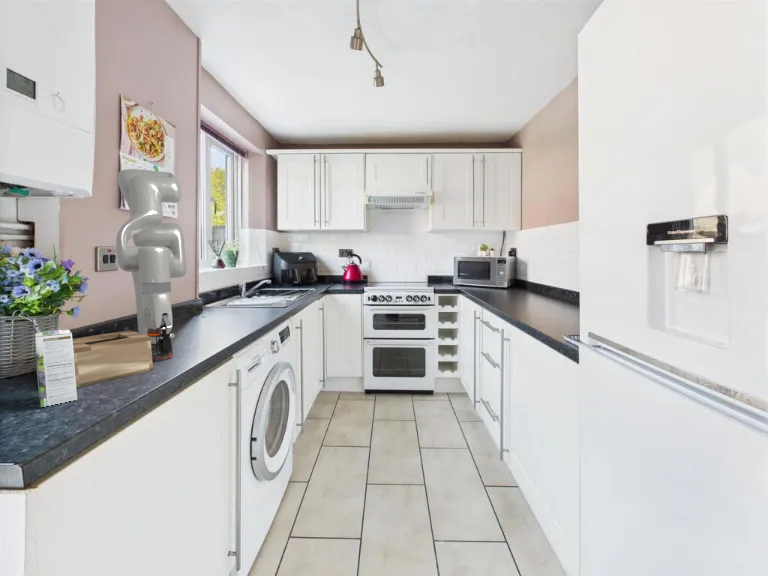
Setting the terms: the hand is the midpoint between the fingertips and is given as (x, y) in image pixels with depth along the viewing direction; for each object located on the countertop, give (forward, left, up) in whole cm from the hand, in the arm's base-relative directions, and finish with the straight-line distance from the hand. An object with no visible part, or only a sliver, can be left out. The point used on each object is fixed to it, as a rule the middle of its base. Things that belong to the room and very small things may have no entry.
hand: (160, 349), depth 109 cm
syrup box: (+18, -26, -3) cm, 32 cm away
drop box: (+3, -14, -3) cm, 15 cm away
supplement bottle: (0, 0, -3) cm, 3 cm away
